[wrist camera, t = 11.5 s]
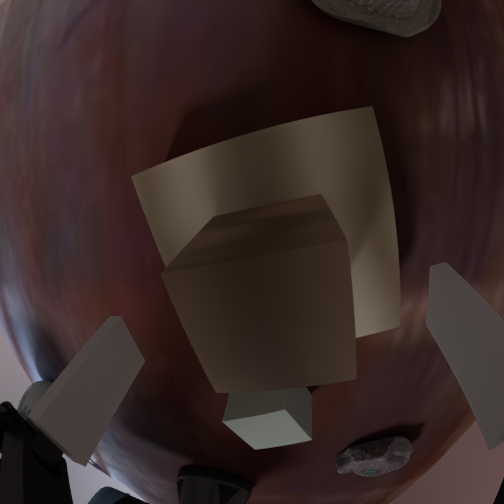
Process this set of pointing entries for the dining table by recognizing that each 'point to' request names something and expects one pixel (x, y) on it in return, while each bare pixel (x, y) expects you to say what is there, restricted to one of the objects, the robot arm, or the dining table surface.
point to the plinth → (291, 196)
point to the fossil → (385, 14)
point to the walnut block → (268, 297)
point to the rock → (375, 456)
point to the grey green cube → (270, 417)
